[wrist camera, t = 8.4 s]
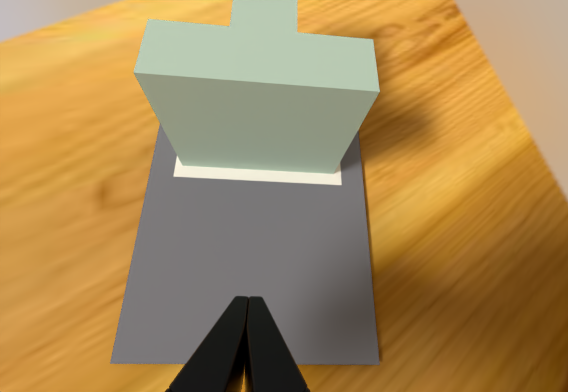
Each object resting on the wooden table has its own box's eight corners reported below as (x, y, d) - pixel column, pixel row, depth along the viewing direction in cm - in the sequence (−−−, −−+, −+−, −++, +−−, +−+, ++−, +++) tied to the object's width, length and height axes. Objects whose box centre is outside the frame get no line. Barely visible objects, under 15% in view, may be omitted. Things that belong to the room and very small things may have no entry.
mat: (377, 363, 16) (379, 364, 16) (112, 362, 15) (110, 363, 15) (350, 60, 24) (351, 57, 24) (177, 45, 23) (176, 42, 23)
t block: (333, 174, 20) (379, 91, 12) (182, 165, 19) (133, 72, 11) (327, 61, 23) (361, -55, 16) (201, 51, 22) (173, -76, 15)
